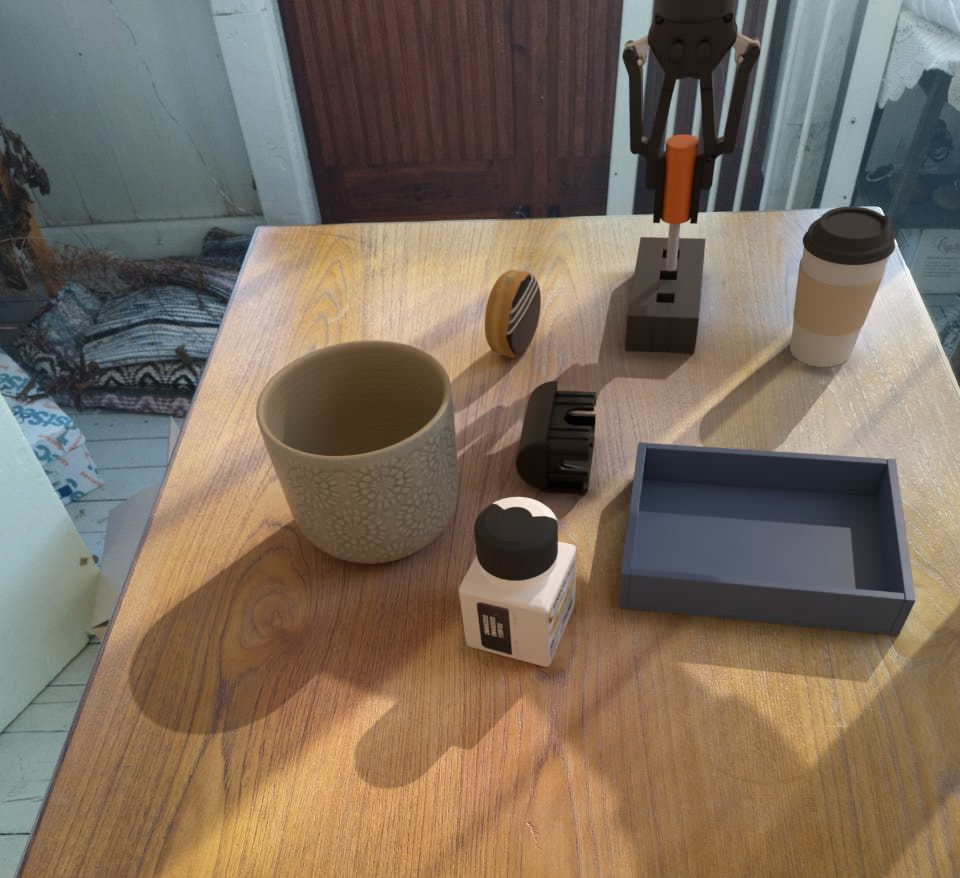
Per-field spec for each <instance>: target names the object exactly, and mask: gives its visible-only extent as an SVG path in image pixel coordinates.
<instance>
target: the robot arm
mask: <svg viewBox="0 0 960 878" xmlns="http://www.w3.org/2000/svg"><path fill="white" fill-rule="evenodd" d="M736 5H737V0H654V14H653V21H652V23H651V25H650V26H649V29H648V33H647V34H646V35H645V36H643V37H641V38H639V39H637V40H635V41H634V40H632V39H630V40H627V41H626V42H625V44H624V48H623V50H622V54H621V55H622V56H621V59H622V61H623V64H624V66H625V69H626V72H627V75H628V107H629V108H628V112H629V113H628V115H629V151H630V153H631V154H633V155H641V156H642V157H644V158H645V161H646V165H645V181H644V186H645V189H646V190H650V191H651V190H653V191H654V200H653V215H652V216H653V217H652V224H660V223H661V218H660V217H661V204H662V191H663V178H664V165H665V150H661V146H662V142H663V141H662V140H663V137H664V133H665V129H666V124H667V120H668V116H669V112H670V108H671V103H672V100H673V95H674V92H675V88H676V82H677V81H678V80H683V79H686V78H691V79H694V80H698V81H699V91H700V108H701V109H700V110H701V127H702V143H703V146H702V147H703V150H698V156H697V162H696V172H695V181H694V191H693V200H692V210H691V218H690V220H689V224H695V225H696V224H698V220H699V219H698V217H699V211H700V210H699V208H700V199H701V191H702V190H703V191H709V190H711V188H712V186H713V182H714V181H713V180H714V174H715V173H714V172H715V165H716V160H717V158H718V157H720V156H723V155H730V154H732V153H733V152H734V150H735V146H736V142H737V138H738V137H737V136H738V132H739V128H740V123H741V117H742V113H743V107H744V103H745V98H746V93H747V88H748V82H749V78H750V74H751V72H752V70H753V68H754V66H755V64H756V63H757V60H758V59H759V57H760V55H761V39H760V38H759V37H757V36H752V37H751V38H750V37H748V36H746V35H744V34H743V33H740V32H738V31H739V28H738V24H737V22H736V18H735V14H736ZM732 48H733V49H734V56H733V57H734V58H733V60H734V62H735V64H736V68H735V74H734V81H733V85H732V89H731V95H730V100H729V106H728V110H727V115H726V121H725V126H724V132H723V135H722V136H720V137H717V123H716V119H717V118H716V101H715V100H716V99H715V76H714V75H715V73H714V71H715V70H716V69H717V67H719V64H720V63H721V62H722V61H723V59H724V58H725V57H726V56H727V54H728V52H729V51H730V50H731V49H732ZM649 50H651V52H652V54H653V55H654V57H655V59H656V60H657V62H658V64H659V66H660V67H661V69H662V71H663V72H664V75H663V80H662V84H661V89H660V93H659V97H658V102H657V105H656V109H655V116H654V119H653V123H652V128H651V133H650V137H649V138H648V137H646V136H644V67H643V66H645V64H646V62H647V58H648V51H649Z"/></svg>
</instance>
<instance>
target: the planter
mask: <svg viewBox="0 0 960 878" xmlns="http://www.w3.org/2000/svg"><path fill="white" fill-rule="evenodd" d="M255 415H256V416H255V417H256V421H257V425H258V428H259V431H260V435H261V437H262V440H263V443H264V445H265V448H266V452H267V454H268V456H269V460H270V461H271V464H272V467H273V469H274V472H275V474H276V476H277V479H278V481H279V484H280V487H281V489H282V492H283V495H284V498H285V501H286V503H287V505H288V509H289V511H290V512H291V515H292V517H293V519H294V521H295V523H296V525H297V527H298V528H299V530H300V531H301V532H302V534H303V535H304V536H305V537H306V538H307V540H309V542H311V543H312V544H313V545H314V546H315V547H316V548H318V549H319V550H320V551H322V552H324V553H326V554H327V555H329V556H332V557H334V558H337V559H339V560H342V561H346V562H350V563H355V564H365V565H371V564H372V565H373V564H383V563H389V562H390V563H391V562H395V561H397V560H400V559H404V558H406V557H408V556H411V555H413V554H415V553H417V552H420V551H421V550H423V549H424V548H425V547H427V546H428V545H430V544H431V543H432V542H433V541H434V540H435V539H437V537H438V536H439V535H440V534H441V533H442V532H443V530H444V529H445V528H446V527H447V525H448V523H449V522H450V520H451V518H452V516H453V513H454V511H455V508H456V505H457V501H458V495H459V465H458V464H459V463H458V455H457V454H458V452H457V439H456V438H457V436H456V423H455V409H454V399H453V391H452V384H451V380H450V377H449V374H448V373H447V370H446V369H445V368H444V366H443V365H442V364H441V362H440V361H438V359H436V358H435V357H434V356H432V355H431V354H430V353H428V352H425V351H424V350H422V349H420V348H417V347H415V346H413V345H409V344H407V343H406V344H405V343H401V342H396V341H390V340H380V339H379V340H376V339H375V340H374V339H373V340H372V339H367V340H366V339H365V340H364V339H363V340H353V341H345V342H341V343H336V344H332V345H328V346H325V347H321V348H319V349H316V350H313V351H311V352H309V353H306V354H304V355H302V356H300V357H298V358H296V359H294V360H292V361H290V363H288V364H287V365H285V366H284V367H282V368H281V369H279V370H278V371H277V372H276V373H275V374H274V375H273V376H272V377H271V378H270V379H269V380H268V382H267V383H266V384H265V386H264V387H263V389H262V391H261V392H260V394H259V396H258V399H257V402H256V407H255Z"/></svg>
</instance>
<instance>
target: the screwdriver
mask: <svg viewBox="0 0 960 878" xmlns="http://www.w3.org/2000/svg"><path fill="white" fill-rule="evenodd" d="M699 145H700V139H699V138H698V137H697V136H694V135H692V134H675V135H672V136H669V137H668V138H666V140H665V150H664V151H665V165H664V178H663V191H662V204H661V217H660V221H662V222H664V223H665V224H669V226H668V236H667V238H668V248H667V259H666V270H667V271H674V270H676V264H677V253H678V243H679V238H680V232H681V224H685V223H687V222H690V220H691V210H692V200H693V191H694V181H695V172H696V162H697V156H698V151H699Z"/></svg>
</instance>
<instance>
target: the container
mask: <svg viewBox="0 0 960 878" xmlns="http://www.w3.org/2000/svg"><path fill="white" fill-rule="evenodd" d="M473 533H474V543H475V544H474V545H475V553H476V555H475V557H474V559H473V561H472V562H471V564H470V566H469V568H468V570H467V572H466V574H465V576H464V577H463V580H462V581H461V583H460V584H459V587H458V595H459V603H460V610H461V617H462V622H463V623H462V625H463V630H464V637H465V643H466V645H467V647H468V648H472V649H476V650H480V651H483V652H487V653H491V654H496V655H499V656H503V657H507V658H510V659H514V660H517V661H520V662H521V661H522V662H524V663H529V664H533V665H536V666H539V667H540V666H541V667H545V668H547V667H550V665H551V663H552V661H553V658H554V656H555V653H556V651H557V649H558V647H559V644H560V641H561V639H562V637H563V635H564V632H565V630H566V627H567V625H568V623H569V620H570V619H571V616H572V613H573V611H574V608H575V606H576V595H577V594H576V593H577V592H576V588H577V586H576V584H577V583H576V582H577V546H575V544H572V543H567V542H563V541H559V523H558V519H557V516H556V515H555V513H554V512H553V511H552V509H550V507H549V506H547V505H545V504H544V503H543V502H540V501H538V500H536V499H533V498H529V497H524V496H511V497H506V498H502V499H498V500H496V501H494V502H492V503H490V504H489V505H487V506H486V507H485V508H484V509H483V510H482V511H481V512H479V514H478V516H477V517H476V519H475V521H474V525H473Z"/></svg>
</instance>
